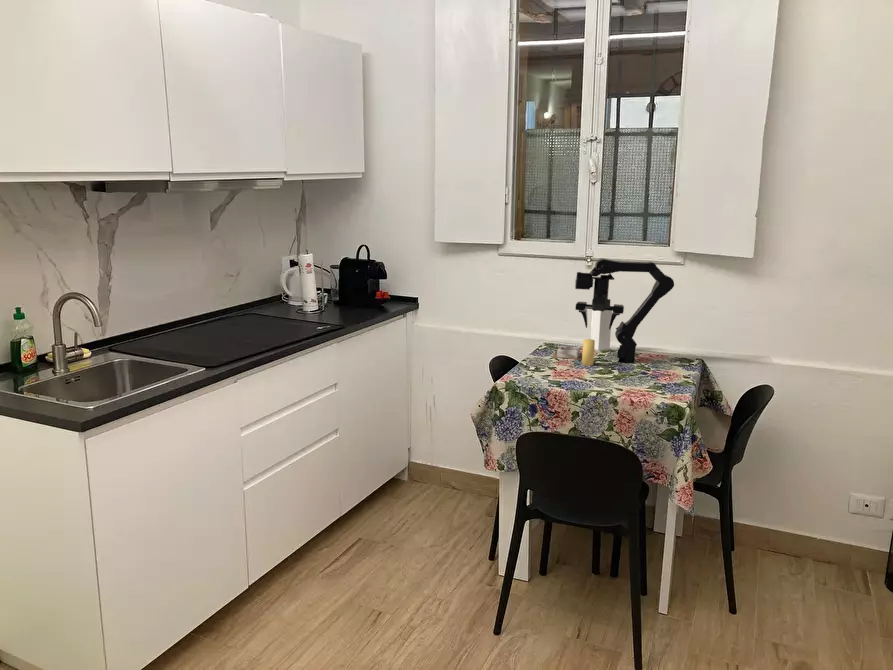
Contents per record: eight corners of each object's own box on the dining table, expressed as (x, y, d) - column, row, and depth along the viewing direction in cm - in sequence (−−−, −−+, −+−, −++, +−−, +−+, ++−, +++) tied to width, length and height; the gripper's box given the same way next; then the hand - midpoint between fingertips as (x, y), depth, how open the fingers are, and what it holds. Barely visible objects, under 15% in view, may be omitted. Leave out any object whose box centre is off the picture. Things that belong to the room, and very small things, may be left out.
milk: (609, 352, 304) (613, 301, 299) (597, 353, 301) (601, 302, 297) (600, 349, 309) (604, 299, 305) (589, 350, 307) (592, 300, 302)
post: (589, 366, 279) (590, 338, 277) (595, 368, 275) (597, 341, 273) (579, 367, 278) (581, 339, 276) (585, 369, 274) (587, 341, 272)
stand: (584, 357, 294) (585, 346, 293) (581, 363, 283) (581, 352, 282) (555, 354, 298) (556, 344, 297) (551, 361, 286) (551, 350, 286)
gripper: (575, 291, 279) (572, 330, 282) (624, 294, 274) (620, 334, 277) (578, 287, 290) (575, 325, 293) (625, 291, 285) (622, 329, 288)
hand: (598, 328), depth 287 cm, fingers open, 9 cm apart
